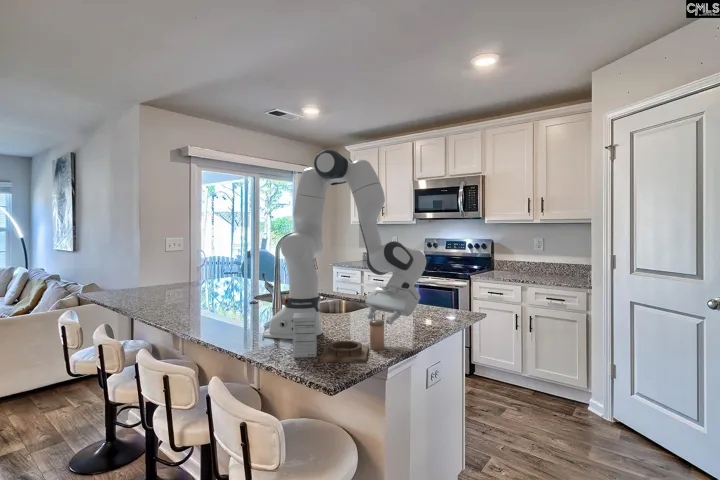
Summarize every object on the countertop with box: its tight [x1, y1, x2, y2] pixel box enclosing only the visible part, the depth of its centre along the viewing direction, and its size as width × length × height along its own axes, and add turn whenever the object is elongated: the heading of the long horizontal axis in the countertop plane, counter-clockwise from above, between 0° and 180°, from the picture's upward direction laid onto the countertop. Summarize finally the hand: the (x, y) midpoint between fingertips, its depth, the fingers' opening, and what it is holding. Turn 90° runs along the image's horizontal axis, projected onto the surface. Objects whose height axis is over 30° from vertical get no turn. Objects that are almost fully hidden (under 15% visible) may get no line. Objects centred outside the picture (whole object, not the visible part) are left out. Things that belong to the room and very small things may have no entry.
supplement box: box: [292, 313, 318, 359], centre depth 125 cm, size 7×7×13 cm
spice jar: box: [369, 319, 385, 351], centre depth 131 cm, size 5×5×9 cm
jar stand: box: [318, 340, 370, 364], centre depth 124 cm, size 14×14×3 cm
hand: (378, 320), depth 132 cm, fingers open, 8 cm apart
